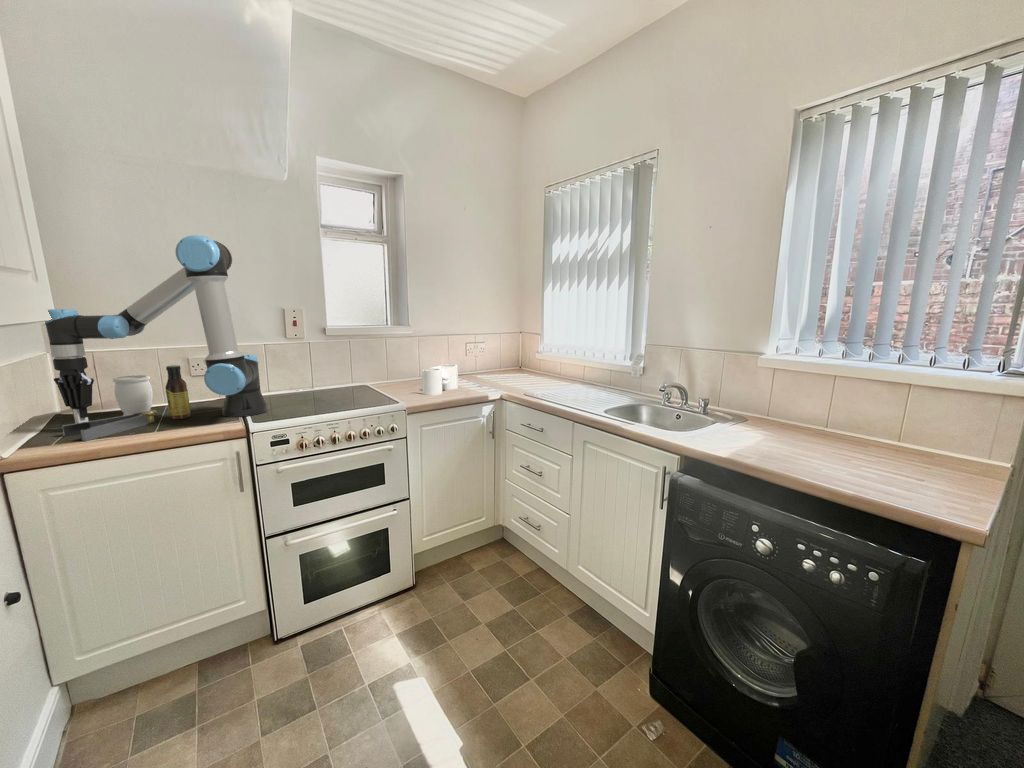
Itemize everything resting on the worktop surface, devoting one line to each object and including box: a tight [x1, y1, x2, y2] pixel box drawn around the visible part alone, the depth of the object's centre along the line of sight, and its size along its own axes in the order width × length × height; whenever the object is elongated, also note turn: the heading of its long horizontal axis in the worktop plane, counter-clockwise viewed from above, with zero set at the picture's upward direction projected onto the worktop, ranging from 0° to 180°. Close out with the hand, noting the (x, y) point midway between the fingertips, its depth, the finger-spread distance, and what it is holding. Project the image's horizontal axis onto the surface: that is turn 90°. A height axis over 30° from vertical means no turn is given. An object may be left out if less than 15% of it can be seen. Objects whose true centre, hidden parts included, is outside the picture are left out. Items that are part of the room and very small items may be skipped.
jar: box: [112, 374, 154, 416], centre depth 156 cm, size 11×10×15 cm
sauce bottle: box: [165, 364, 192, 420], centre depth 154 cm, size 6×6×20 cm
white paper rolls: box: [421, 363, 459, 396], centre depth 210 cm, size 25×10×12 cm, turn 160°
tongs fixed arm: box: [79, 414, 155, 442], centre depth 139 cm, size 22×3×4 cm, turn 171°
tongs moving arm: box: [61, 409, 158, 438], centre depth 141 cm, size 24×4×4 cm, turn 146°
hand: (83, 427), depth 139 cm, fingers closed
